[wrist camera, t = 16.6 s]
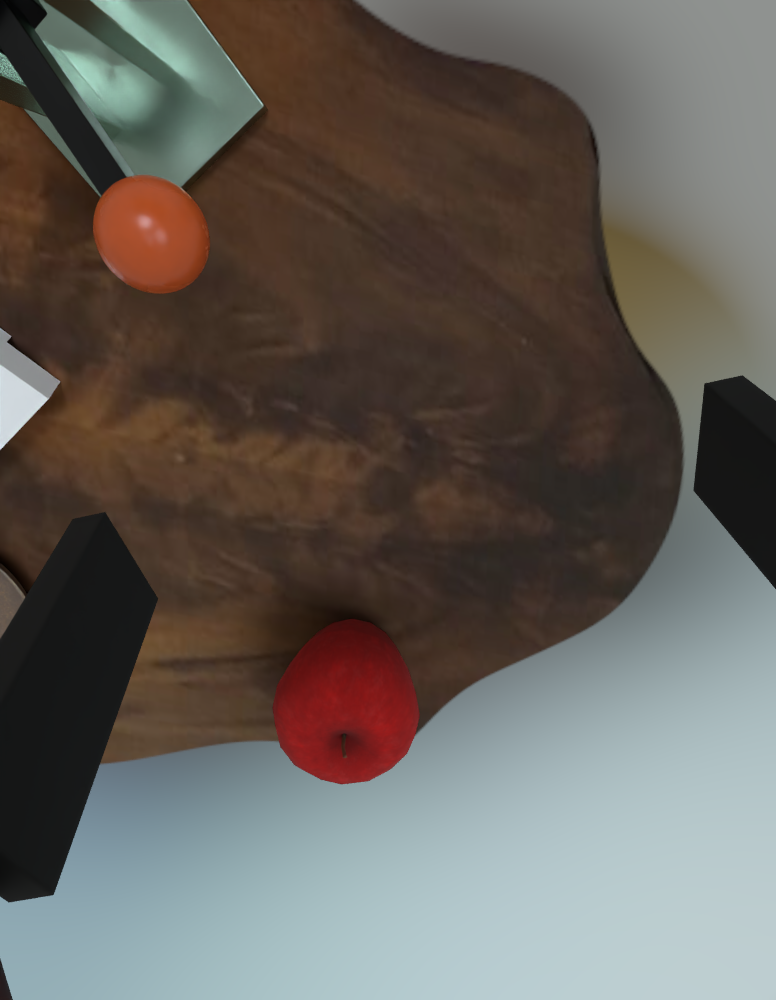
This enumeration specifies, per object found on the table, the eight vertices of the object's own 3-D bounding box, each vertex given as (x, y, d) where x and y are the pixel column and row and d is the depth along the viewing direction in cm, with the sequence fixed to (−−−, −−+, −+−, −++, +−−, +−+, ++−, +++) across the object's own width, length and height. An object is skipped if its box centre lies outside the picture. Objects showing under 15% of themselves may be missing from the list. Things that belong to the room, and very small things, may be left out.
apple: (303, 578, 44) (278, 678, 34) (430, 608, 45) (442, 713, 35) (277, 684, 48) (248, 801, 38) (395, 709, 49) (397, 830, 39)
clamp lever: (248, 259, 21) (191, 222, 18) (175, 325, 22) (108, 301, 19) (34, -47, 22) (-59, -139, 19) (-27, 27, 23) (-127, -48, 20)
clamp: (268, 110, 32) (192, 25, 20) (140, 235, 35) (-1, 231, 22) (98, -123, 29) (-131, -411, 16) (-33, 34, 31) (-321, -108, 19)
